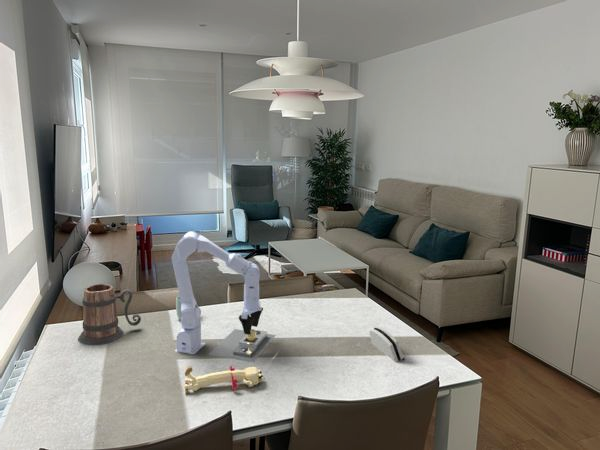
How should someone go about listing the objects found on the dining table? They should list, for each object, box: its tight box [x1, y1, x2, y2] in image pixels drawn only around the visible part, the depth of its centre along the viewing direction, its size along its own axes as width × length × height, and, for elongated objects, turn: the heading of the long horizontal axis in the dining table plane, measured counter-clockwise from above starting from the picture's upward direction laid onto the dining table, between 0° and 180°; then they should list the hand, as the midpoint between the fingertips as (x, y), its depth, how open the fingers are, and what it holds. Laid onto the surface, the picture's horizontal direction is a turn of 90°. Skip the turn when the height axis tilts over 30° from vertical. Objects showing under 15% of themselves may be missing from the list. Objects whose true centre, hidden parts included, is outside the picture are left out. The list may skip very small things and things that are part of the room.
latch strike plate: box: [233, 329, 269, 357], centre depth 172 cm, size 18×7×3 cm, turn 165°
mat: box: [207, 328, 276, 363], centre depth 173 cm, size 24×18×1 cm
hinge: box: [368, 326, 407, 363], centre depth 171 cm, size 17×5×10 cm, turn 22°
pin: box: [247, 328, 256, 343], centre depth 172 cm, size 3×3×6 cm
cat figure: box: [184, 365, 265, 394], centre depth 144 cm, size 10×9×25 cm
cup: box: [175, 294, 182, 321], centre depth 196 cm, size 8×8×10 cm
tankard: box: [77, 283, 142, 347], centre depth 178 cm, size 24×17×20 cm
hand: (251, 329), depth 171 cm, fingers open, 7 cm apart
